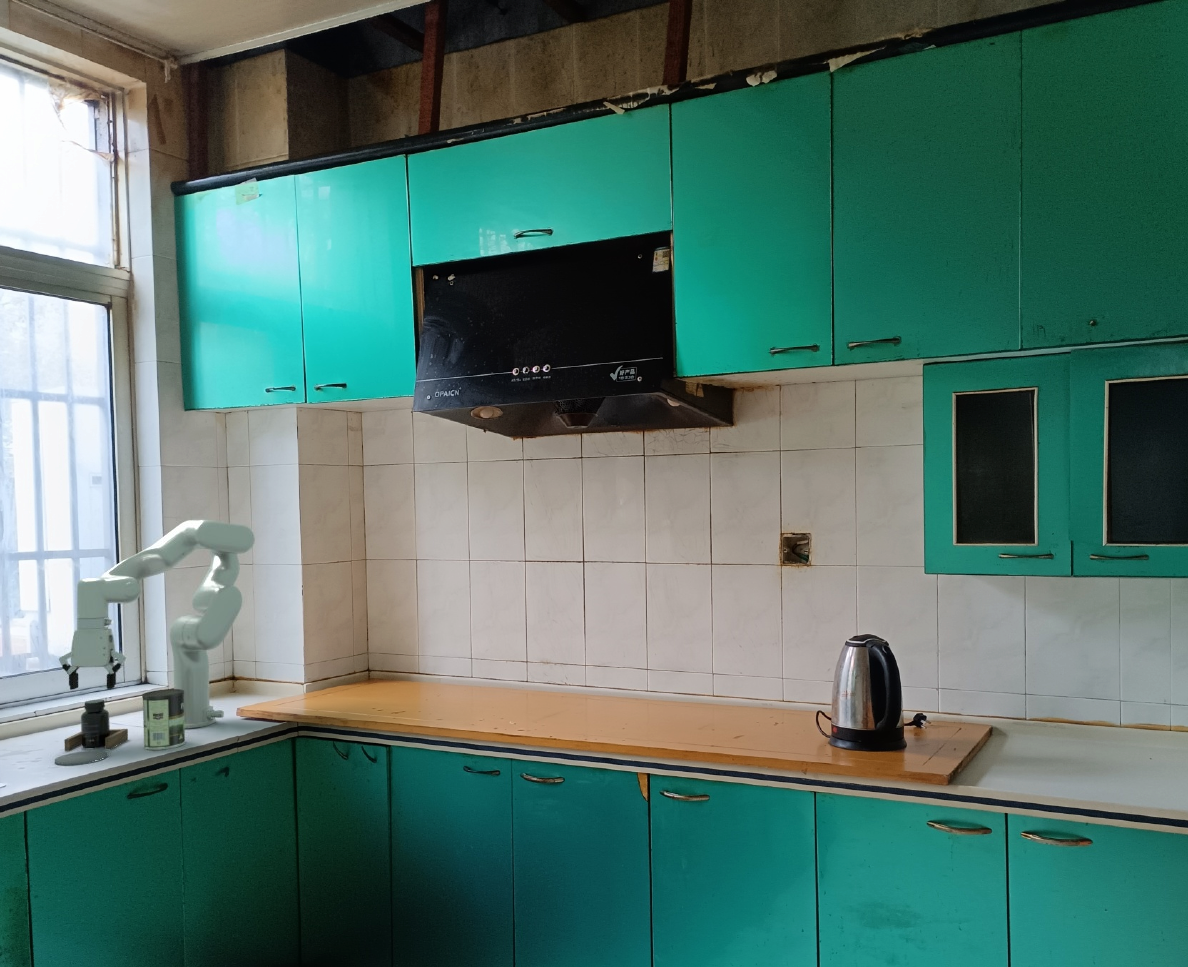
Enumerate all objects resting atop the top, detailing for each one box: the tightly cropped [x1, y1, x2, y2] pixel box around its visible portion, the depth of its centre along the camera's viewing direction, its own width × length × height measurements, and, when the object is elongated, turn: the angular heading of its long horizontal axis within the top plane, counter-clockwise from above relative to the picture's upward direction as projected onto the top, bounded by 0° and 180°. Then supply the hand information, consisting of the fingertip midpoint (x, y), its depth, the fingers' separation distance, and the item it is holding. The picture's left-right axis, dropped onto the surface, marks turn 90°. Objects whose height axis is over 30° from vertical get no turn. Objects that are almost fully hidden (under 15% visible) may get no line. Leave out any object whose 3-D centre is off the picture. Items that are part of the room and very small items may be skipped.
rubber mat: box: [54, 750, 109, 766], centre depth 253 cm, size 12×12×1 cm
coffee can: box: [141, 688, 186, 751], centre depth 266 cm, size 10×10×14 cm
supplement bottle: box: [80, 698, 111, 749], centre depth 267 cm, size 7×7×12 cm
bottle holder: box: [63, 728, 129, 752], centre depth 268 cm, size 12×11×3 cm
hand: (92, 688), depth 267 cm, fingers open, 9 cm apart
